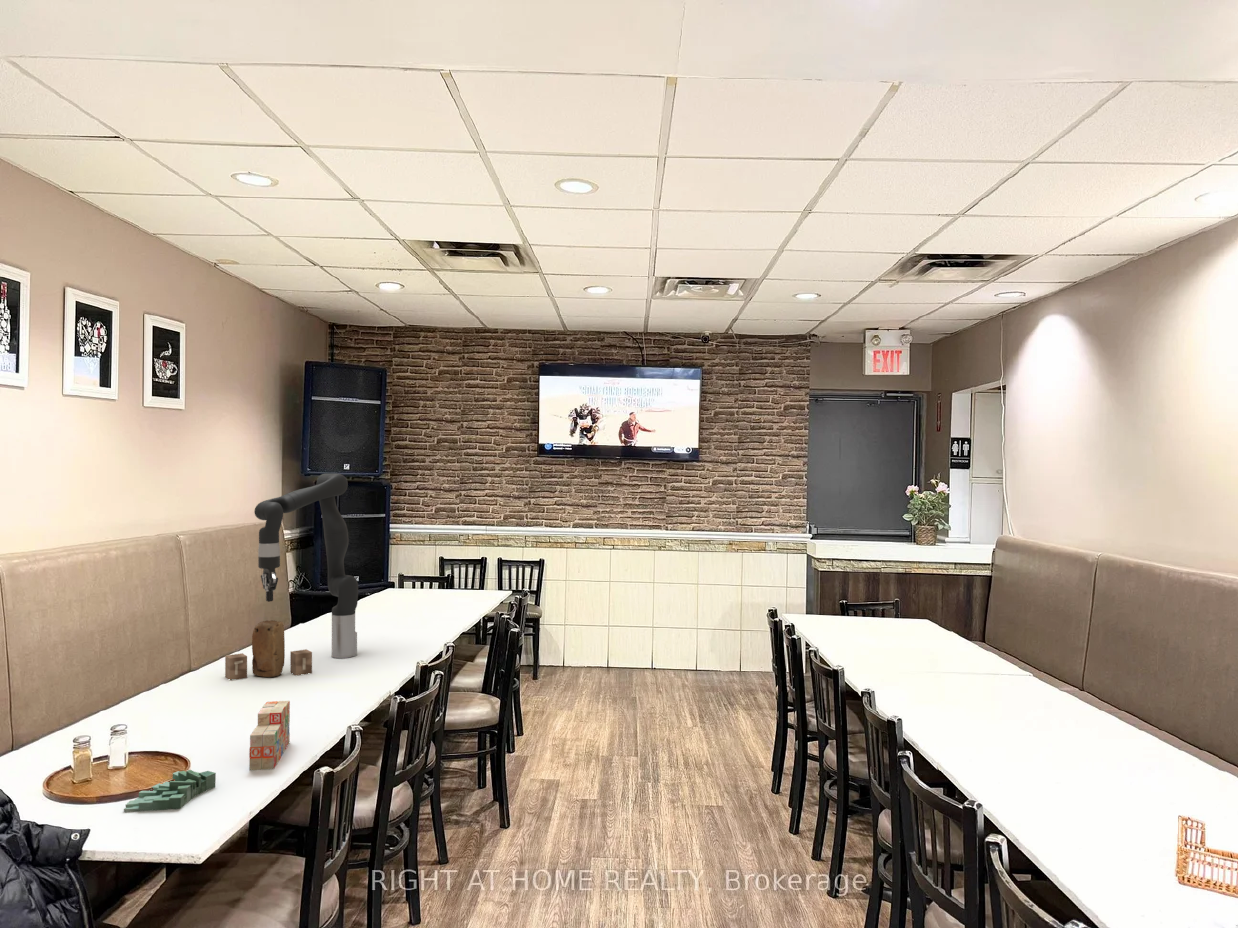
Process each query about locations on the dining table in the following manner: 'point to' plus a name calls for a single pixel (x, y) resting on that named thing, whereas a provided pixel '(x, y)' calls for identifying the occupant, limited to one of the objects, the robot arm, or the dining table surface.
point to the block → (268, 648)
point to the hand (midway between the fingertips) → (269, 601)
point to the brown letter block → (236, 666)
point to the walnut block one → (301, 662)
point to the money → (173, 792)
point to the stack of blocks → (270, 735)
